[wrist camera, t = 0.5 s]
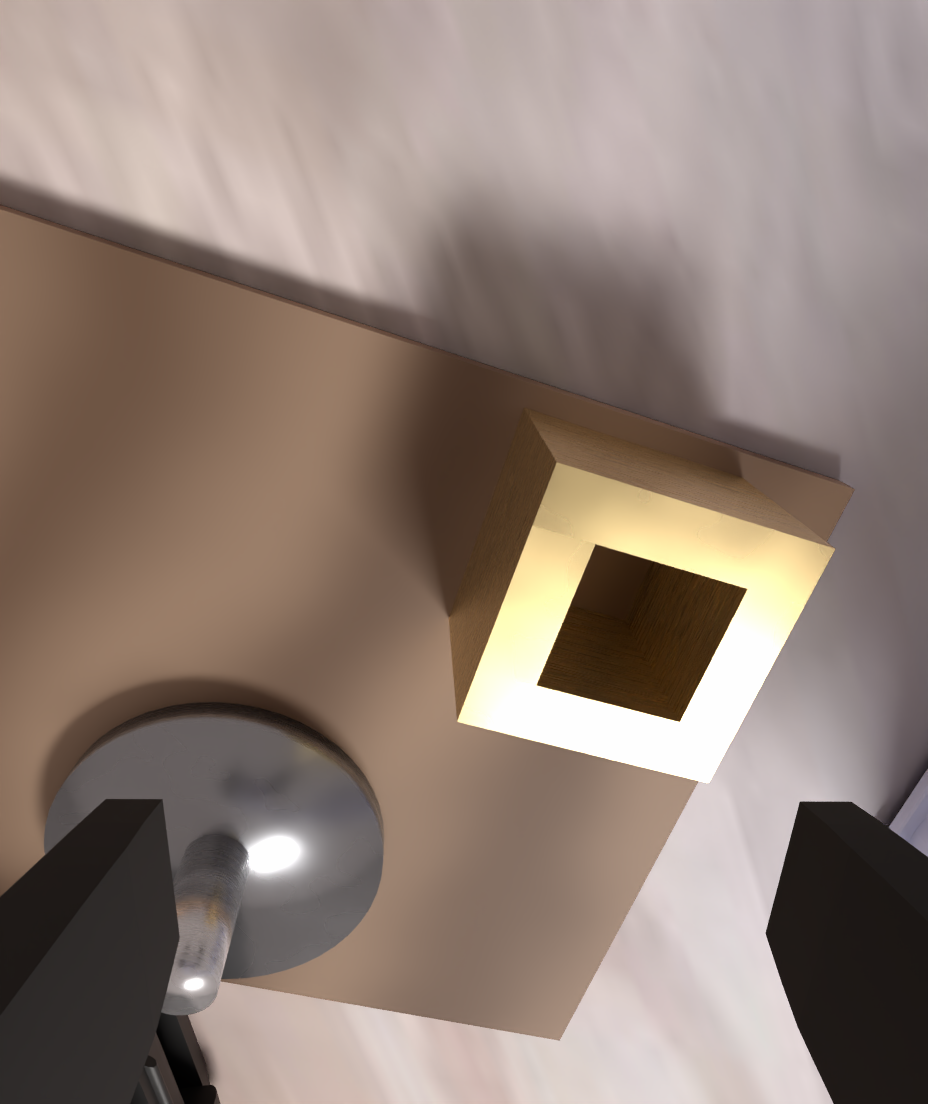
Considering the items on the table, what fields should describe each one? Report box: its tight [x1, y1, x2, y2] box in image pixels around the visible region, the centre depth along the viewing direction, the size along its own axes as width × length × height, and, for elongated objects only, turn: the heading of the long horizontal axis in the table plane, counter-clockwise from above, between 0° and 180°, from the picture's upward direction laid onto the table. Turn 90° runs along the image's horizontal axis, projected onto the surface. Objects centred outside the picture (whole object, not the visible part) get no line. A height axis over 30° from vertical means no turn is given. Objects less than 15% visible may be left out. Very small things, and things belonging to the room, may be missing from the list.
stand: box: [44, 702, 384, 1015], centre depth 18 cm, size 8×8×4 cm
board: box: [0, 205, 855, 1040], centre depth 19 cm, size 20×18×1 cm
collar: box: [449, 408, 835, 783], centre depth 15 cm, size 5×5×4 cm
